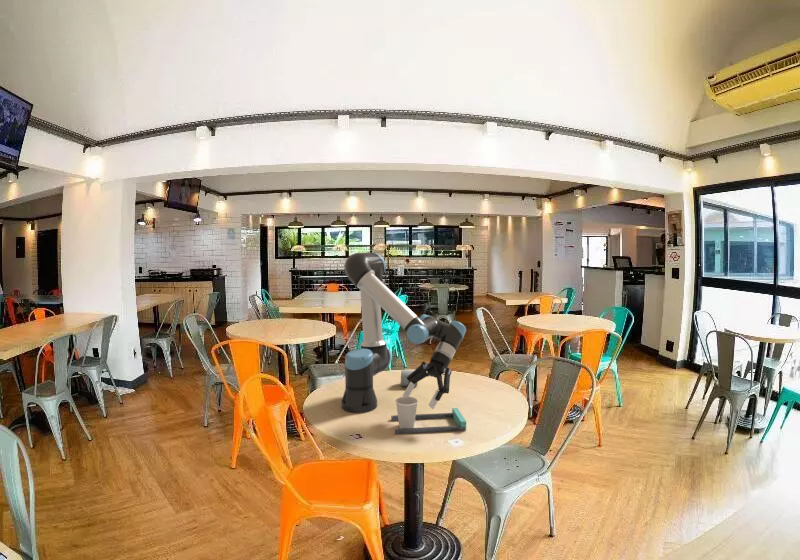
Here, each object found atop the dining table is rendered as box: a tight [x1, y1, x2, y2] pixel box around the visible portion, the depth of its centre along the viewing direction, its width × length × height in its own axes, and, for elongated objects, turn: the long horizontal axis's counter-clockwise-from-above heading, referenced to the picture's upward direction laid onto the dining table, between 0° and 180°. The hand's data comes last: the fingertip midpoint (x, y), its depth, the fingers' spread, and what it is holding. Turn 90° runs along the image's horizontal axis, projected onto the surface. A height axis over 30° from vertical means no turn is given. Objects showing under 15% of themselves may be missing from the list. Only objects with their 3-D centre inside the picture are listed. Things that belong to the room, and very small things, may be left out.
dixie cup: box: [395, 396, 419, 429], centre depth 165 cm, size 8×8×10 cm
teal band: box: [451, 407, 467, 432], centre depth 168 cm, size 2×13×4 cm, turn 7°
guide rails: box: [390, 412, 465, 435], centre depth 167 cm, size 26×13×2 cm, turn 97°
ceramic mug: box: [400, 369, 419, 387], centre depth 213 cm, size 11×8×8 cm
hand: (417, 402), depth 167 cm, fingers open, 13 cm apart
